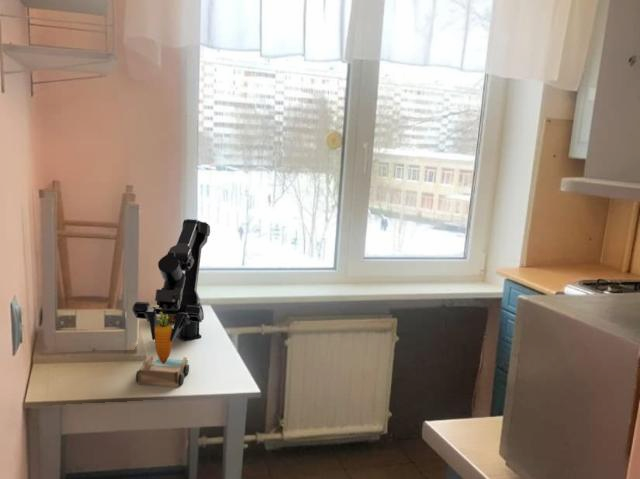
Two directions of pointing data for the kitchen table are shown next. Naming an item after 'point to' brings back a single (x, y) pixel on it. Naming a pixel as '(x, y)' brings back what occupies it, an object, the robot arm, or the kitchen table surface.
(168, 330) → the carrot
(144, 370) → the cart
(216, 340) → the kitchen table surface
